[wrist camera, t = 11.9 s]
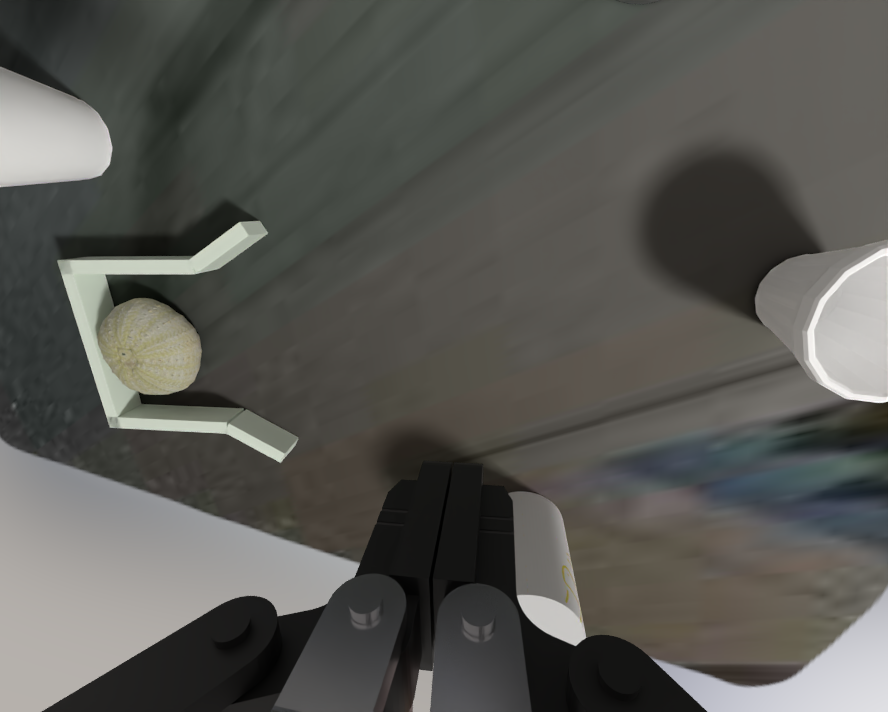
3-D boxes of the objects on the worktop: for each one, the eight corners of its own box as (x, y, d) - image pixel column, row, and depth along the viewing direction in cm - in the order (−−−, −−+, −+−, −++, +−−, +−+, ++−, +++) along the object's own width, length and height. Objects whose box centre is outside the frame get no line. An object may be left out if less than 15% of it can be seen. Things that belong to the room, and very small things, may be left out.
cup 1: (549, 564, 45) (566, 684, 33) (475, 544, 45) (466, 656, 34) (573, 503, 42) (601, 612, 31) (493, 482, 42) (491, 582, 31)
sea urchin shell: (126, 401, 42) (49, 368, 35) (154, 332, 46) (89, 289, 39) (209, 402, 41) (147, 368, 34) (231, 331, 44) (179, 286, 37)
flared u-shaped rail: (79, 223, 38) (45, 225, 36) (266, 220, 36) (246, 221, 33) (141, 437, 46) (118, 453, 43) (300, 446, 44) (286, 462, 41)
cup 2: (747, 373, 35) (827, 427, 27) (708, 267, 33) (782, 288, 24) (884, 321, 33) (1022, 362, 24) (851, 201, 30) (992, 199, 22)
